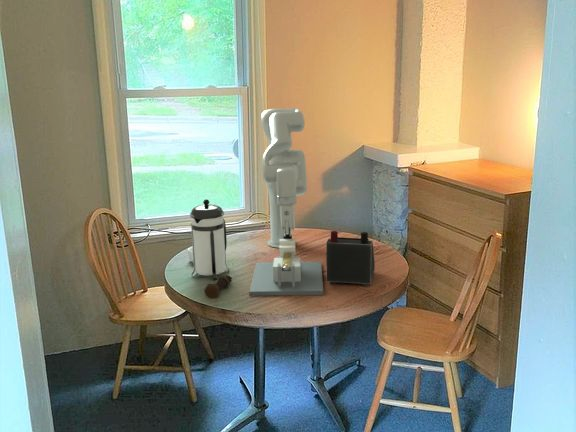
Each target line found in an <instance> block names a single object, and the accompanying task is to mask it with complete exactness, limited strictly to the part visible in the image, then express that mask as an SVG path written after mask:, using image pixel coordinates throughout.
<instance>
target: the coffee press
mask: <svg viewBox="0 0 576 432" xmlns="http://www.w3.org/2000/svg"><path fill="white" fill-rule="evenodd" d="M202 203H203V204H201V205H197V206H195V207H193V208H192V209H191V211H190V213H189V217H190V219H191V223H190V228H191V244H192V245H191V247H193V261H194V262H193V271H192V272H191V277H192V278H194V279H195V277H197V276H198V275H201V276H211V278H212V281H214V282H215V281H217V280H218V277H217V275H219V274H222V273H224V272H225V273H230V269H229V268H228V267H227V256H226V250H227V245H228V243H227V242H228V241H227V226H226V225H227V224H226V221H225V219H224V215H225V212H224V210H223V208H222V207H221V206H219V205H217V204H211V203H210V200H209V199H204V200H203V202H202ZM226 269H227V270H226ZM195 272H196V273H195Z"/></svg>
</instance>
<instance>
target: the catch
mask: <svg viewBox="0 0 576 432" xmlns="http://www.w3.org/2000/svg"><path fill="white" fill-rule="evenodd" d="M279 244H280V245H279V248H278V251H279V258H283V254H284V253H291V258H297V257H296V238H292V239H280V241H279Z"/></svg>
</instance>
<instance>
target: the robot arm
mask: <svg viewBox="0 0 576 432" xmlns="http://www.w3.org/2000/svg"><path fill="white" fill-rule="evenodd" d="M260 118H261V119H260V121H261V126H262V129H263V132H264V135H265V136H266V139H267V145H268V146H267V148H266V149H265V151H264V153H263V154H262V158H261V171H262V179H263V181H264V183H265V184H266V186H267V194H268V199H269V221H270V222H269V224H270V239H267V245H268V246H269V247H271V248H277V249H279V245H280V244H279V241H280V239H293V233H292V232H293V231H294V230H295V228H296V227H295V225H296V224H295V223H296V222H295V221H296V220H295V218H296V216H295V205H297V203H298V202H297V197H298V196H303V195H305V194H306V193H307V190H308V189H307V188H308V181H307V180H308V179H307V167H306V166H307V165H306V157H305V154H304V151H303V150H301V149H291V148H292V146H293V140H292V134H291V133H297V132H298V133H299V132H300V133H301V132H303V130H304V129H305V118H304V114H303V111H301V110H300V109H299V108H295V107H294V108H270V109H266V110H264V111H263V112H262V113H261V116H260Z"/></svg>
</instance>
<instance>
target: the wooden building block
mask: <svg viewBox="0 0 576 432" xmlns="http://www.w3.org/2000/svg"><path fill="white" fill-rule="evenodd" d="M282 271H291V253H284V254H283V263H282Z"/></svg>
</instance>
